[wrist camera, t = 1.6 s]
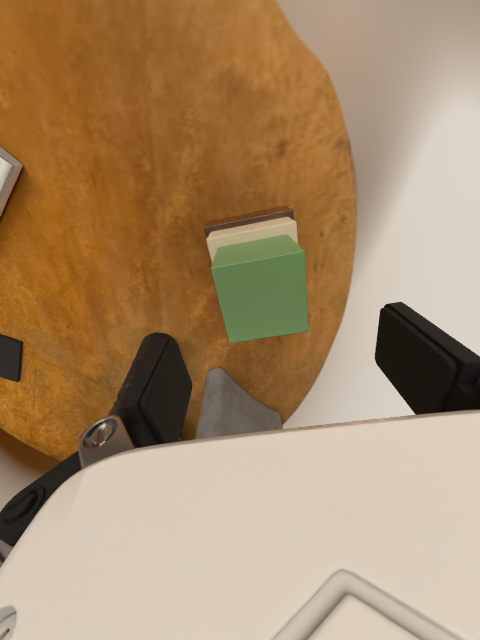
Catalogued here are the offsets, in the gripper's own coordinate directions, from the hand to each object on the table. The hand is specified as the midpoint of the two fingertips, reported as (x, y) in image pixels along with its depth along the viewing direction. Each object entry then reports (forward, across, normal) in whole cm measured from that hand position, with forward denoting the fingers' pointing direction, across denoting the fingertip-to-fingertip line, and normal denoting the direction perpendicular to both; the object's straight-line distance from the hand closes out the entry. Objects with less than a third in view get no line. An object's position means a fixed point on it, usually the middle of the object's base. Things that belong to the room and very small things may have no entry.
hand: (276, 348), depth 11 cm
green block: (+10, 0, 0) cm, 10 cm away
